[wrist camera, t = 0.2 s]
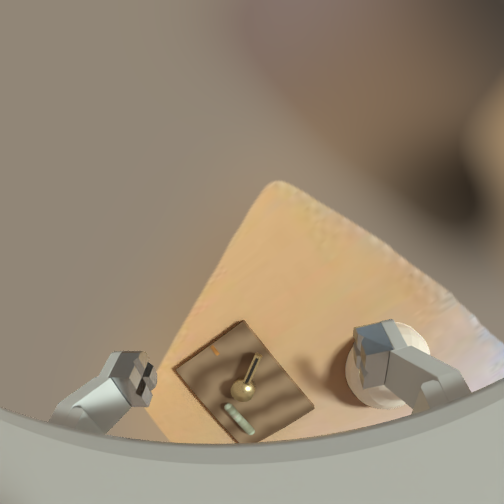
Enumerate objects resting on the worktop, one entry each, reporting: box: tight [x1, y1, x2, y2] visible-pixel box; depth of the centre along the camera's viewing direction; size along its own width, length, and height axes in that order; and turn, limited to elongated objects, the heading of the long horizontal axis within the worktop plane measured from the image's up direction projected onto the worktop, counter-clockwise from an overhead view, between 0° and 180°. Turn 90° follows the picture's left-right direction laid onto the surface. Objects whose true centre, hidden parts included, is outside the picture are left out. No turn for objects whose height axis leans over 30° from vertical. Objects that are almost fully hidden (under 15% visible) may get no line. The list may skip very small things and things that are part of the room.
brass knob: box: [231, 353, 262, 402], centre depth 60 cm, size 12×5×3 cm, turn 158°
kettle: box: [345, 322, 430, 409], centre depth 51 cm, size 20×21×18 cm
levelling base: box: [176, 321, 314, 443], centre depth 62 cm, size 26×20×4 cm
